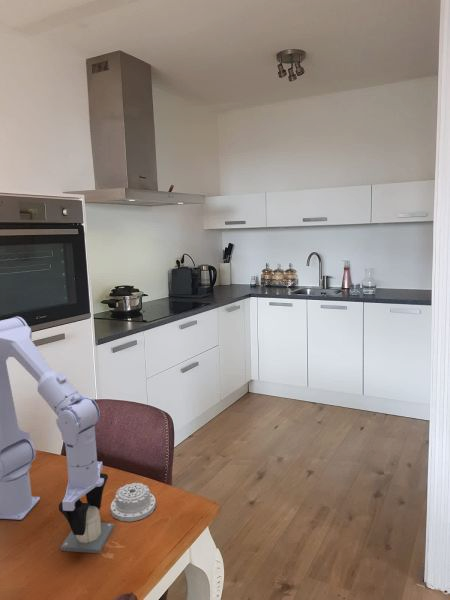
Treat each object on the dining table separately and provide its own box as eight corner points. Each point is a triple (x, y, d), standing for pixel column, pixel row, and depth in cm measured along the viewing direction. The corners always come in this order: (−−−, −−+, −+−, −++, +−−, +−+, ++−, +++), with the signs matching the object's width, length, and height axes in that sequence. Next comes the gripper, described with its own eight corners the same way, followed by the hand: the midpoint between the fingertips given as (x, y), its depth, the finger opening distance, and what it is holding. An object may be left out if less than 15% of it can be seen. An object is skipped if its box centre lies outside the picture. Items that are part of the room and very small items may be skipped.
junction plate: (60, 550, 92) (59, 532, 91) (78, 524, 99) (77, 507, 99) (99, 553, 90) (98, 534, 90) (114, 526, 98) (113, 509, 98)
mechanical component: (103, 520, 101) (146, 525, 99) (101, 502, 100) (145, 506, 98) (122, 494, 111) (161, 497, 109) (120, 477, 110) (160, 480, 108)
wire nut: (73, 541, 93) (71, 519, 92) (83, 526, 97) (81, 505, 96) (94, 543, 92) (93, 520, 91) (103, 528, 97) (102, 506, 96)
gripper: (85, 480, 84) (91, 547, 87) (114, 443, 99) (118, 501, 101) (49, 478, 85) (55, 544, 88) (83, 441, 99) (87, 499, 102)
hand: (87, 521), depth 94 cm, fingers open, 7 cm apart
